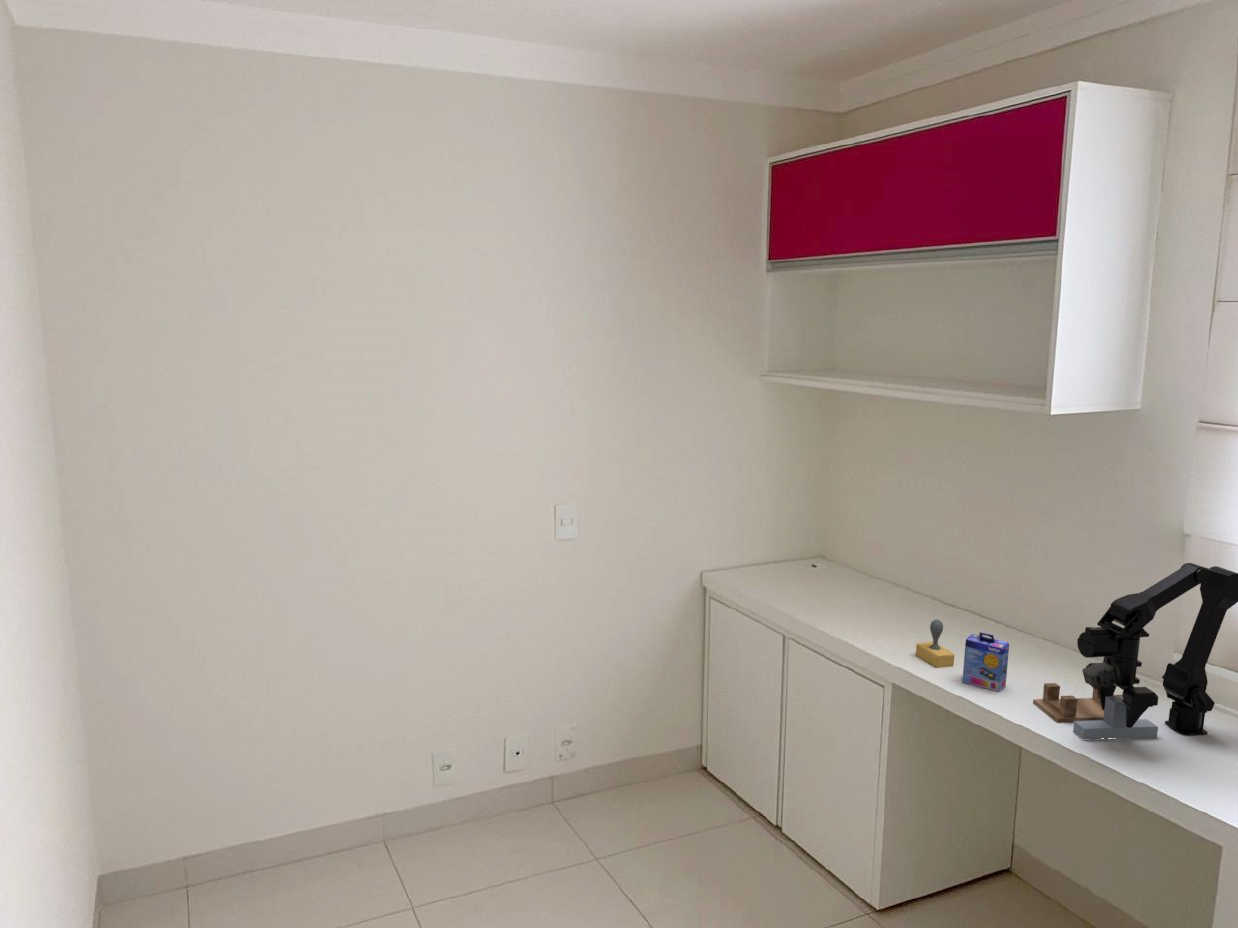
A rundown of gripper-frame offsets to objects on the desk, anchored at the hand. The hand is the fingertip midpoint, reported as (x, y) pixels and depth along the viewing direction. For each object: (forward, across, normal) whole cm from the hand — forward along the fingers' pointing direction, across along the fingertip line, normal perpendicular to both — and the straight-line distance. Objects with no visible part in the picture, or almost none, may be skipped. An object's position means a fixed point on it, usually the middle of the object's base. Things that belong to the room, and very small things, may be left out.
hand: (1116, 718), depth 214 cm
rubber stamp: (+4, -47, -23) cm, 53 cm away
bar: (+4, 0, 0) cm, 4 cm away
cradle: (+4, -12, 0) cm, 13 cm away
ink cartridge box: (+4, -30, -17) cm, 35 cm away
